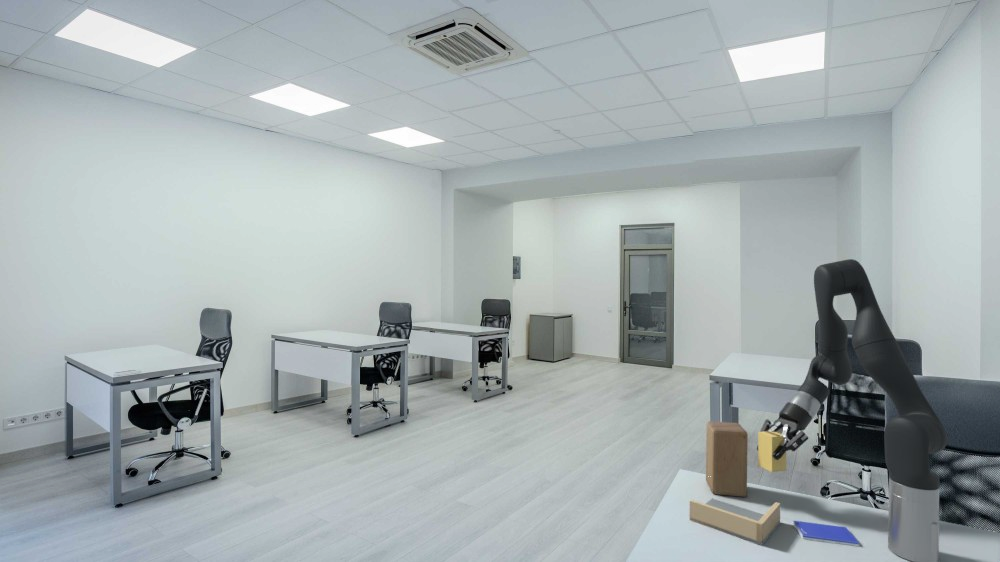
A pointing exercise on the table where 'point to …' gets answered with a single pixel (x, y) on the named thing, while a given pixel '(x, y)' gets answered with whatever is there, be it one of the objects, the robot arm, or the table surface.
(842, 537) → the hard drive
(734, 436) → the wooden block
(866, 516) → the table surface
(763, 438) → the mustard block
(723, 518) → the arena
